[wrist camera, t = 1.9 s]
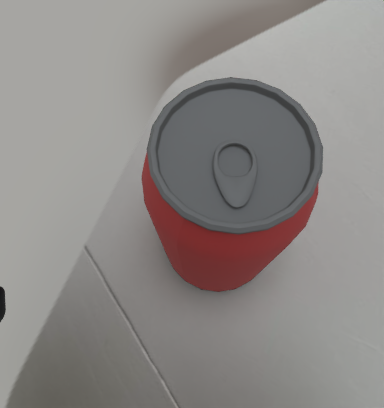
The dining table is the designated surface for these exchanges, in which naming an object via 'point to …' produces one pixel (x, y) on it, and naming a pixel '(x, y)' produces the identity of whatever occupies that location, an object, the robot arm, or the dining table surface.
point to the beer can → (230, 179)
